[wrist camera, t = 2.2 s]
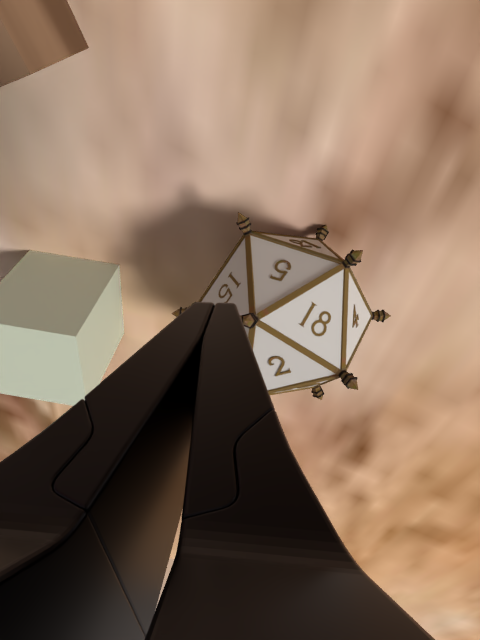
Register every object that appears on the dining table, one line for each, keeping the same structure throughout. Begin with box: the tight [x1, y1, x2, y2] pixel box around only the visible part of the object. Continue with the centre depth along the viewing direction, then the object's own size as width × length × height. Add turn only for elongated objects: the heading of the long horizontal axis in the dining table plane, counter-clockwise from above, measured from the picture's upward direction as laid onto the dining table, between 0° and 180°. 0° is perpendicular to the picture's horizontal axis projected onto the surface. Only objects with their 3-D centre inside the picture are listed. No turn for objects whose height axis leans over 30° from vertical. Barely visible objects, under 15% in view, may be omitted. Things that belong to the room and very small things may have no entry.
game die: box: [172, 212, 390, 400], centre depth 21 cm, size 9×8×10 cm
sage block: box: [0, 250, 124, 406], centre depth 24 cm, size 5×5×6 cm
